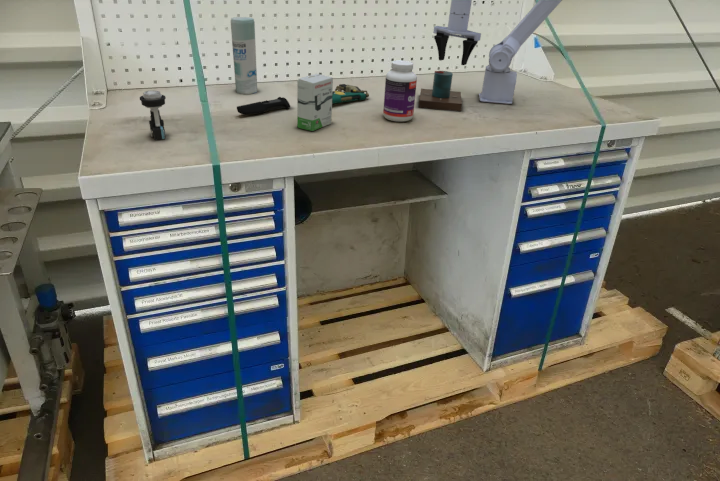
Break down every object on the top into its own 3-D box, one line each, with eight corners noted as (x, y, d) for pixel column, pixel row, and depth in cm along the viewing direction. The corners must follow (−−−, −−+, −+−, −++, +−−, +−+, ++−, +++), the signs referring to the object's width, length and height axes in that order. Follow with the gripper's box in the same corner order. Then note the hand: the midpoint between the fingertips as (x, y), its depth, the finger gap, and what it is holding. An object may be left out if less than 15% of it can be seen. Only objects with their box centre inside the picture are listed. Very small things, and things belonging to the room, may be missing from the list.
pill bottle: (411, 124, 136) (416, 67, 129) (380, 121, 137) (384, 64, 130) (414, 115, 143) (420, 60, 136) (385, 112, 144) (389, 58, 137)
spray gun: (353, 92, 162) (376, 108, 151) (303, 93, 155) (322, 109, 144) (355, 78, 160) (378, 93, 149) (304, 78, 153) (324, 94, 142)
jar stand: (420, 95, 160) (421, 87, 159) (459, 99, 159) (460, 91, 158) (418, 107, 149) (419, 99, 148) (460, 111, 148) (462, 103, 147)
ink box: (312, 132, 127) (312, 82, 121) (296, 127, 130) (295, 78, 123) (332, 123, 134) (333, 75, 128) (317, 119, 136) (317, 72, 130)
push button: (143, 132, 122) (135, 89, 116) (166, 129, 124) (160, 87, 119) (148, 141, 117) (141, 97, 112) (173, 138, 119) (167, 94, 114)
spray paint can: (262, 91, 156) (259, 19, 146) (247, 95, 152) (242, 21, 141) (246, 87, 159) (241, 16, 149) (230, 91, 155) (225, 18, 144)
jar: (449, 93, 155) (452, 70, 152) (450, 98, 151) (453, 74, 147) (431, 92, 156) (434, 69, 152) (431, 97, 151) (434, 73, 148)
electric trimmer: (234, 116, 136) (233, 104, 134) (283, 105, 145) (282, 94, 143) (242, 120, 133) (241, 107, 132) (291, 109, 143) (291, 97, 141)
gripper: (430, 11, 152) (424, 59, 159) (476, 18, 144) (468, 68, 151) (442, 9, 157) (436, 56, 163) (487, 16, 149) (478, 65, 156)
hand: (452, 62), depth 158 cm, fingers open, 7 cm apart
